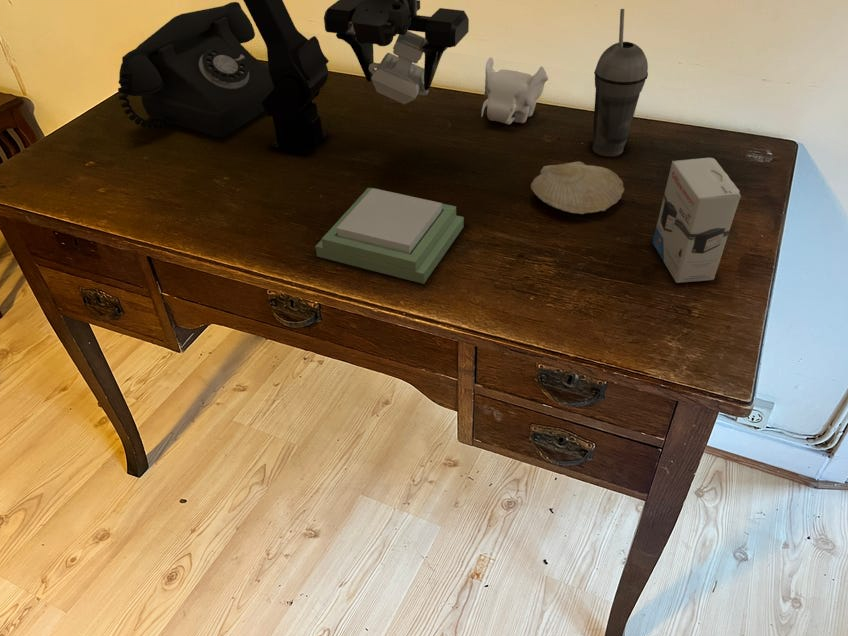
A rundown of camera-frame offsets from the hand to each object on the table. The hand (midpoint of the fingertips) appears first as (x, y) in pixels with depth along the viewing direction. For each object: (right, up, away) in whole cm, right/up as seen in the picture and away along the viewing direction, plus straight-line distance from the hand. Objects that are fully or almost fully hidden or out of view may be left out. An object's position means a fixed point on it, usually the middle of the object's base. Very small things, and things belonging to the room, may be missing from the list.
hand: (398, 84), depth 103 cm
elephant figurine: (+18, 0, +15) cm, 24 cm away
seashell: (+24, -16, -2) cm, 29 cm away
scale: (-1, -23, -7) cm, 24 cm away
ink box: (+35, -27, -13) cm, 46 cm away
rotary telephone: (-31, +3, +22) cm, 38 cm away
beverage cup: (+32, -7, +7) cm, 33 cm away
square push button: (-1, -21, -9) cm, 23 cm away
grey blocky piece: (-1, -1, +1) cm, 2 cm away
